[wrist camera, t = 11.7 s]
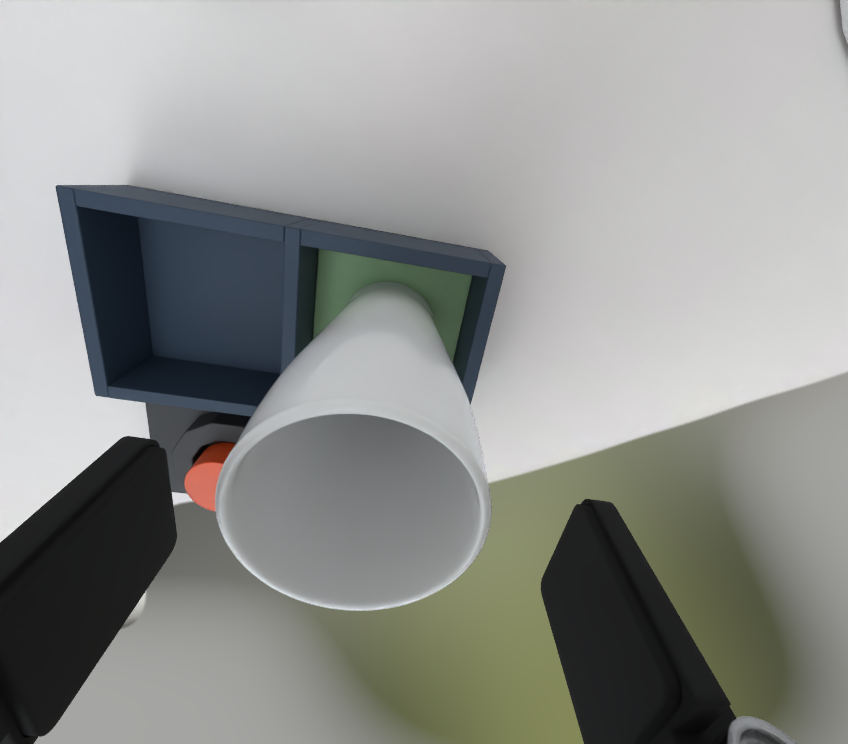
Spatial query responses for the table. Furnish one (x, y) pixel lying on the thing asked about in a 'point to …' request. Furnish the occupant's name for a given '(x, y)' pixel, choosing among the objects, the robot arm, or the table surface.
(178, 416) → the control block
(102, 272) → the divided tray
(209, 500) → the button
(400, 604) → the drinking glass
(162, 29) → the table surface
